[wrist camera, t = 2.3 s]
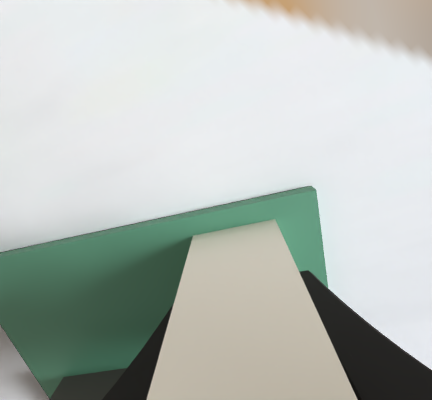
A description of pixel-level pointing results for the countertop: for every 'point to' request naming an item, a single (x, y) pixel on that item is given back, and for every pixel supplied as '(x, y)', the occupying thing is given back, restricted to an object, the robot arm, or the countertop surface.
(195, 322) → the plug
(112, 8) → the countertop surface
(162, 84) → the countertop surface
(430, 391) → the robot arm
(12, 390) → the countertop surface
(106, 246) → the board
